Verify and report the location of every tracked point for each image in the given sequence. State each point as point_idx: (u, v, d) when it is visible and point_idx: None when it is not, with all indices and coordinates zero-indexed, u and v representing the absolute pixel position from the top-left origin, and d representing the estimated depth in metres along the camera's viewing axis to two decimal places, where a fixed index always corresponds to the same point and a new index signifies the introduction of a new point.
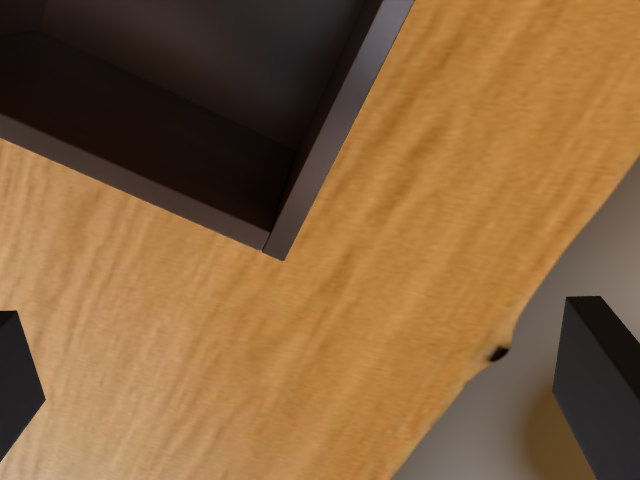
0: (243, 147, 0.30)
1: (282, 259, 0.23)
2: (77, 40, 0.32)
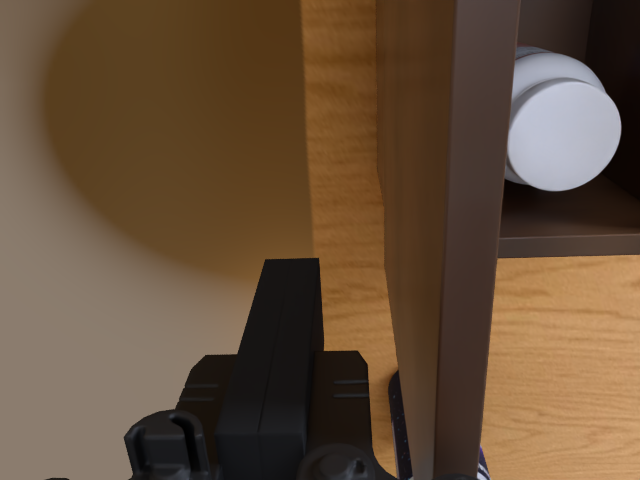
0: None
1: None
2: None
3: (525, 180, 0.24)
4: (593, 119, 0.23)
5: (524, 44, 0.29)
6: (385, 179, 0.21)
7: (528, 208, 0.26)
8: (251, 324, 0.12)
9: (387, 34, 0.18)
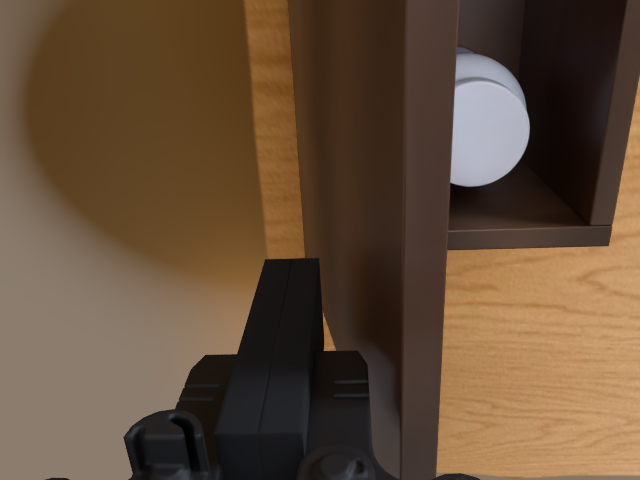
0: None
1: None
2: None
3: None
4: (502, 117, 0.24)
5: None
6: (301, 175, 0.22)
7: (451, 203, 0.27)
8: (251, 324, 0.12)
9: (296, 35, 0.19)
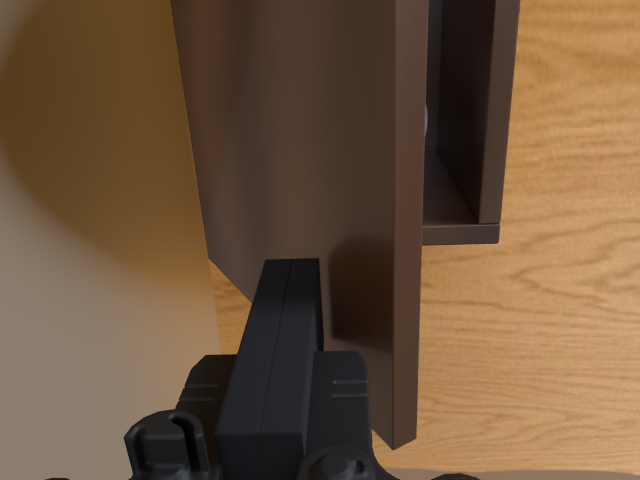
0: None
1: None
2: (431, 119, 0.36)
3: None
4: None
5: None
6: (201, 175, 0.23)
7: None
8: (251, 324, 0.12)
9: (191, 41, 0.20)
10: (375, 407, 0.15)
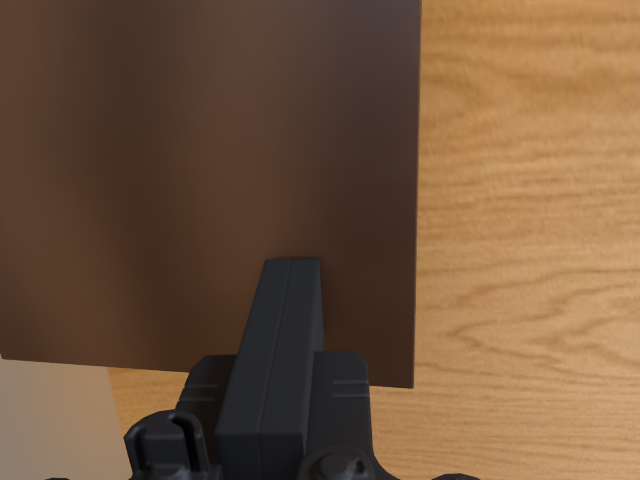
0: None
1: None
2: None
3: None
4: None
5: None
6: None
7: None
8: (251, 324, 0.12)
9: None
10: (387, 363, 0.16)
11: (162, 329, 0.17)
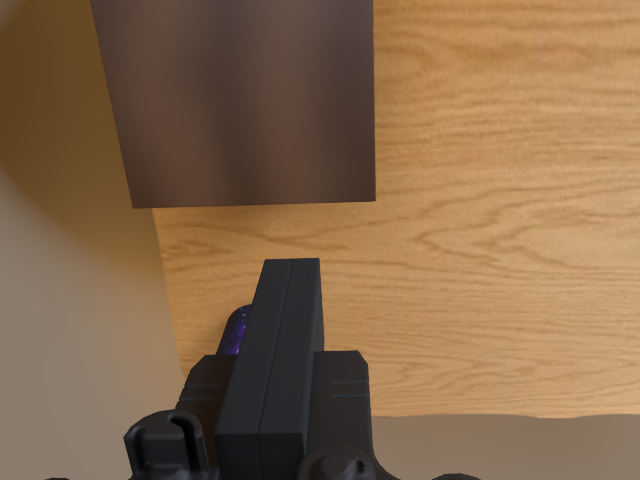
0: None
1: None
2: None
3: None
4: None
5: None
6: (132, 137, 0.30)
7: None
8: (251, 324, 0.12)
9: (132, 31, 0.28)
10: (361, 186, 0.31)
11: (235, 178, 0.31)
